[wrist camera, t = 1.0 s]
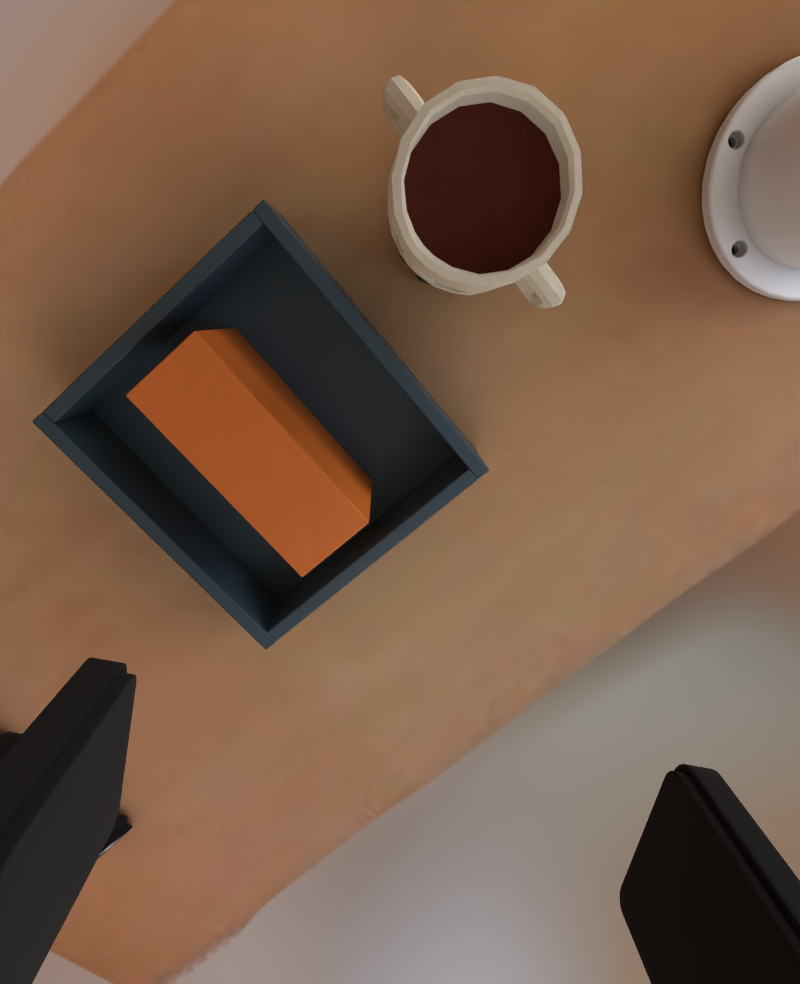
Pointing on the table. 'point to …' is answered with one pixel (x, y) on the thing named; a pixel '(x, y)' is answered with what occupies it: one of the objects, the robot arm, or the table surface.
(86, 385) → the bin
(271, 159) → the table surface
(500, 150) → the character mug
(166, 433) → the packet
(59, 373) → the table surface
